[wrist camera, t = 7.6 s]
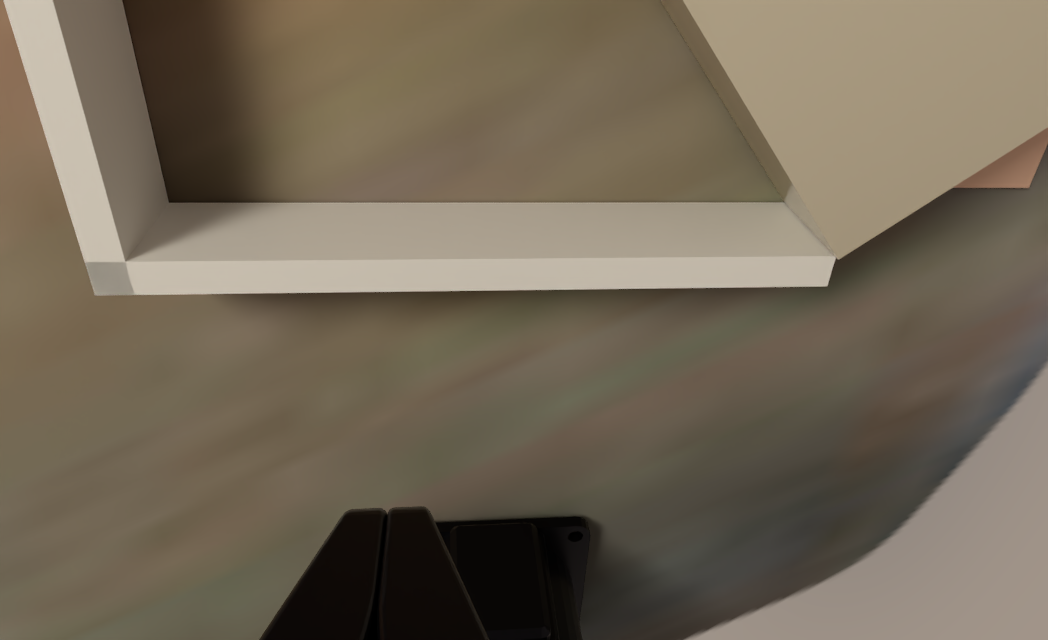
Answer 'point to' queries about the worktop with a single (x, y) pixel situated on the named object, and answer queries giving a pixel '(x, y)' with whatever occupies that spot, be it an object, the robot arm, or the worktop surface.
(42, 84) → the white rectangular open frame
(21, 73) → the worktop surface
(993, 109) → the electrical outlet
